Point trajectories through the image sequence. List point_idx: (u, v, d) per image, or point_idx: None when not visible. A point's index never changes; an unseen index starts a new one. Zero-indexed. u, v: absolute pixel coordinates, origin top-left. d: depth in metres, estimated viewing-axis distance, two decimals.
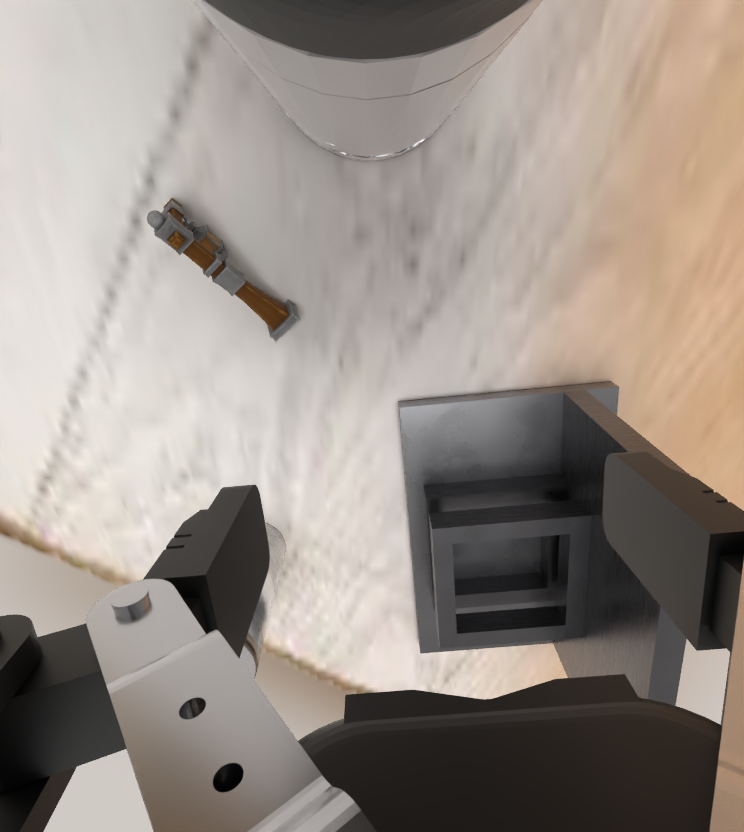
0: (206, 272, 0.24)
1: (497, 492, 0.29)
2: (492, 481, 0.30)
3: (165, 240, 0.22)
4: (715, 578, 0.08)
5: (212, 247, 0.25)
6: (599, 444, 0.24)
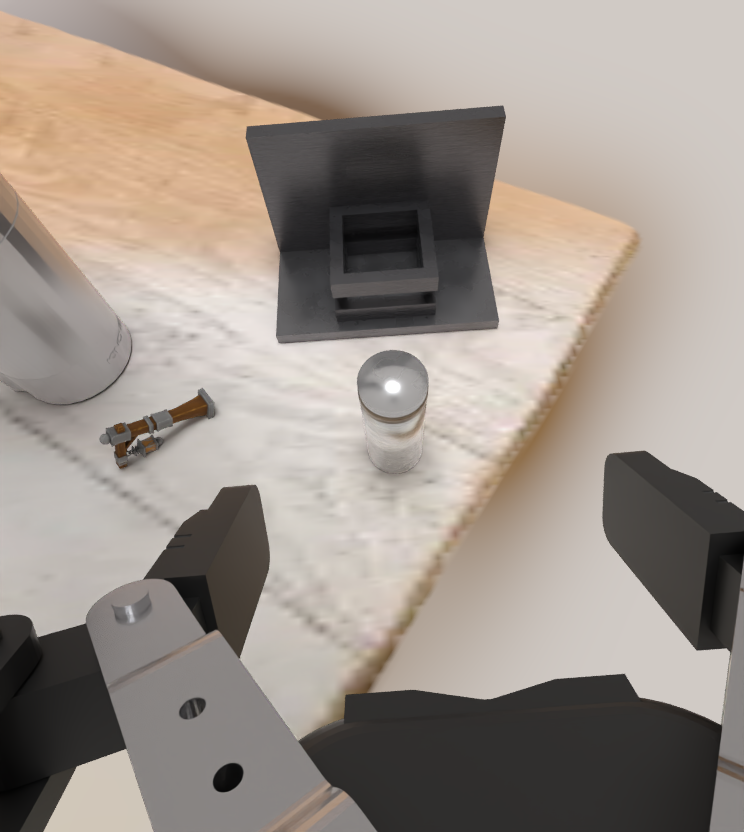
0: (149, 424, 0.36)
1: None
2: None
3: (117, 434, 0.35)
4: (715, 578, 0.08)
5: (150, 440, 0.38)
6: (278, 207, 0.41)
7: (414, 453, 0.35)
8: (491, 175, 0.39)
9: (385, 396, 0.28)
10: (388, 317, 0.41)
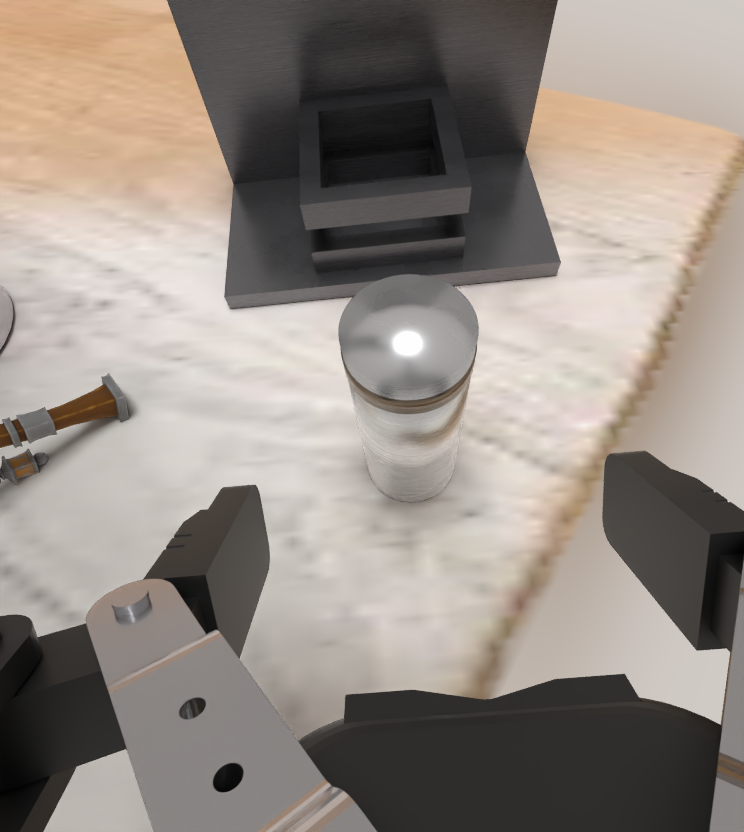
0: (10, 431, 0.22)
1: None
2: None
3: None
4: (715, 578, 0.08)
5: (24, 458, 0.24)
6: (222, 104, 0.27)
7: (445, 468, 0.20)
8: (544, 36, 0.25)
9: (395, 358, 0.14)
10: (392, 263, 0.27)
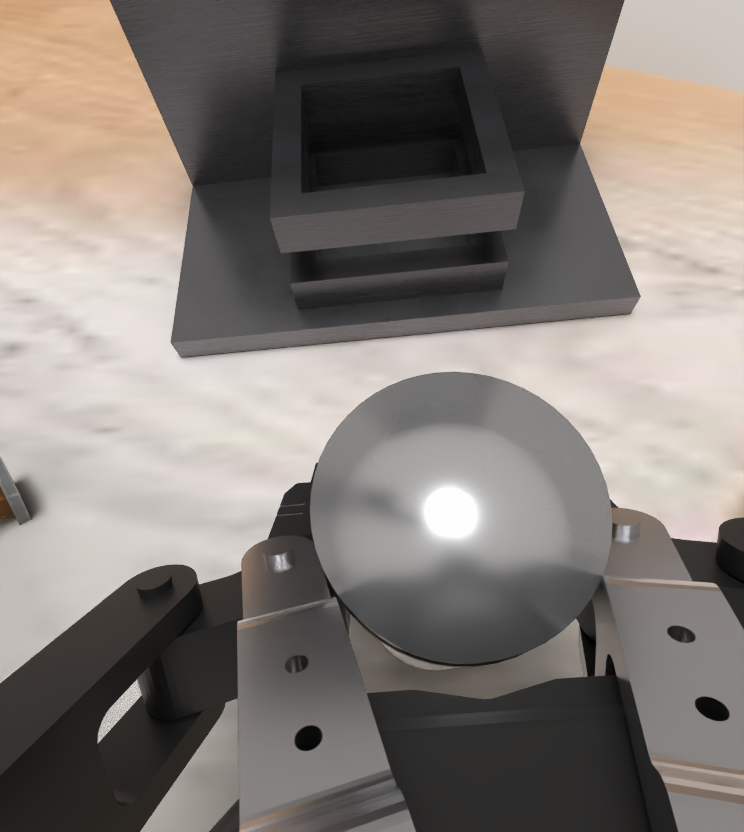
0: None
1: None
2: None
3: None
4: None
5: None
6: (167, 75, 0.20)
7: None
8: None
9: (432, 578, 0.06)
10: (404, 297, 0.20)
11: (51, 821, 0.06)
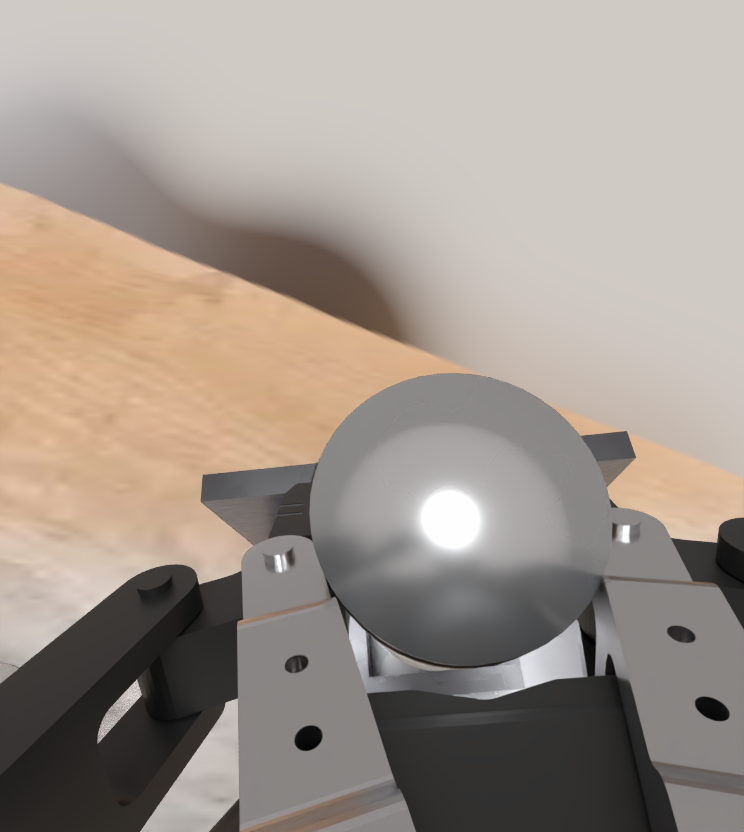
0: None
1: None
2: None
3: None
4: None
5: None
6: (261, 536, 0.27)
7: None
8: None
9: (432, 580, 0.06)
10: None
11: (51, 821, 0.06)
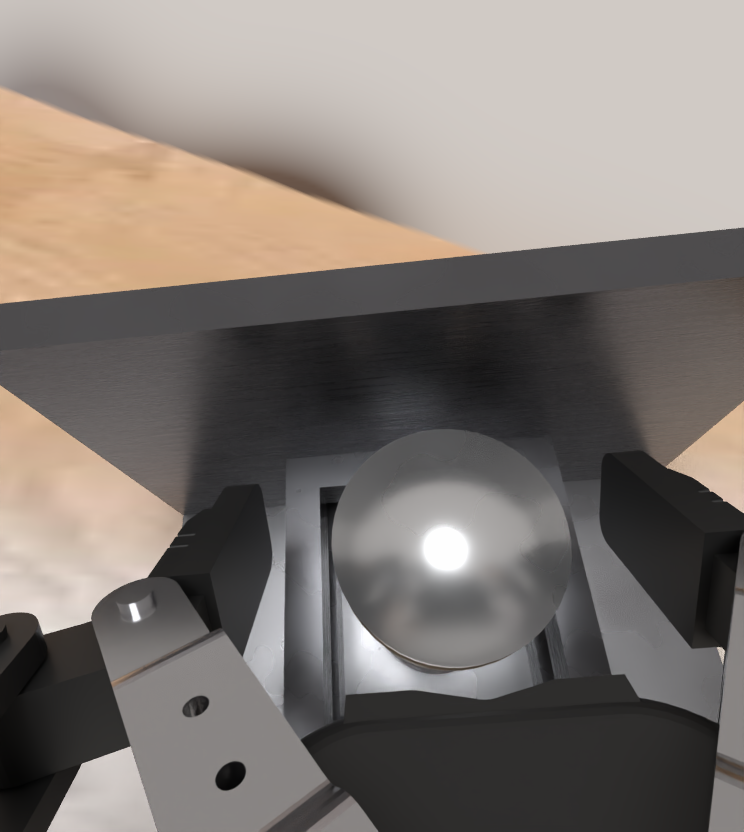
0: None
1: None
2: None
3: None
4: (710, 577, 0.08)
5: None
6: (149, 467, 0.15)
7: None
8: None
9: (428, 600, 0.08)
10: None
11: None
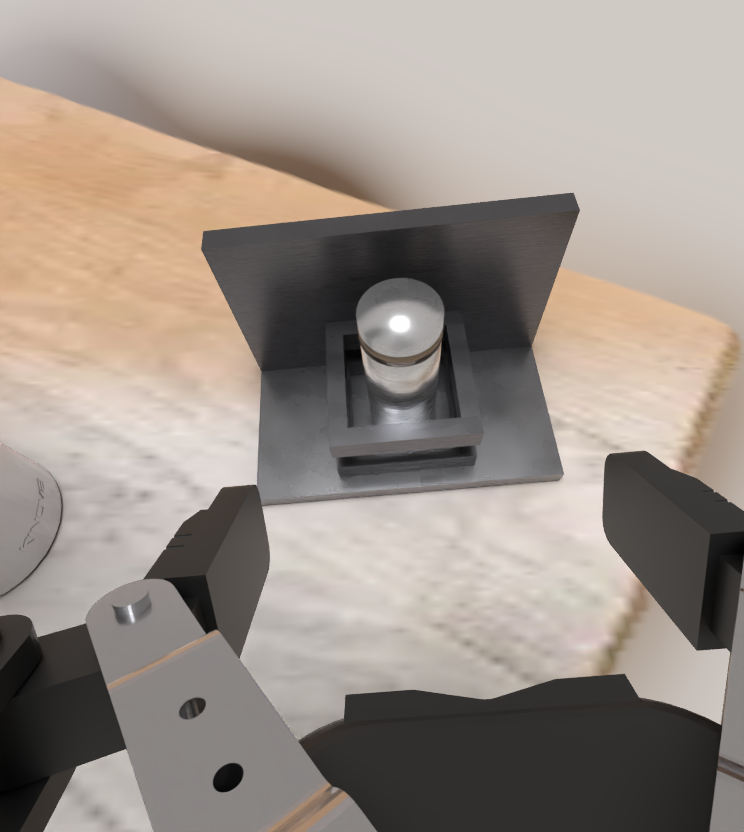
0: None
1: None
2: None
3: None
4: (715, 578, 0.08)
5: None
6: (255, 326, 0.30)
7: (426, 414, 0.29)
8: (550, 279, 0.28)
9: (391, 330, 0.23)
10: (410, 470, 0.30)
11: None
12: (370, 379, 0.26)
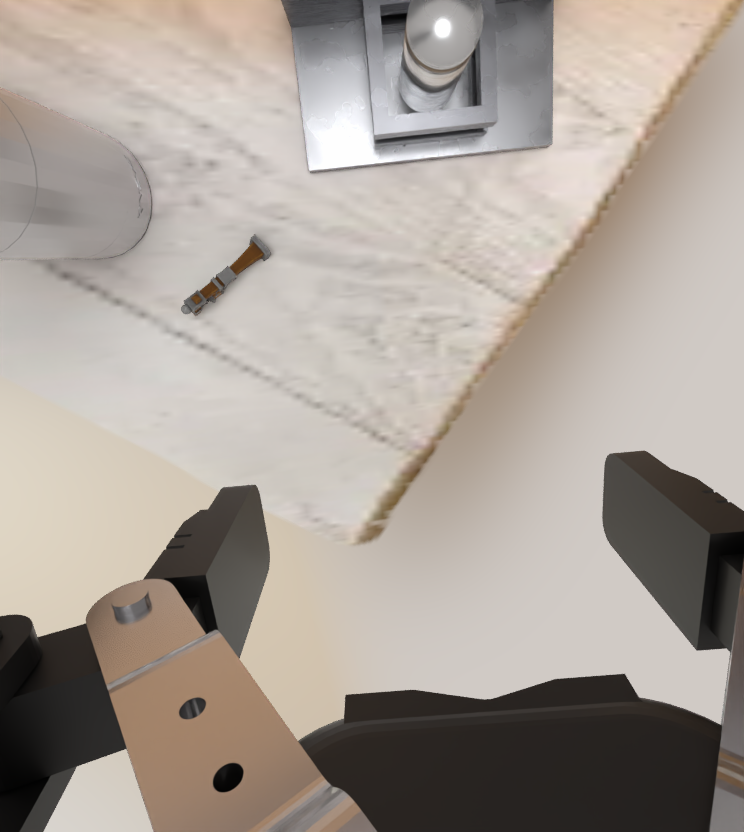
0: (219, 287, 0.39)
1: None
2: (368, 85, 0.36)
3: (197, 305, 0.38)
4: (715, 578, 0.08)
5: None
6: None
7: (450, 93, 0.34)
8: None
9: (437, 44, 0.27)
10: (431, 142, 0.37)
11: None
12: (409, 72, 0.31)
